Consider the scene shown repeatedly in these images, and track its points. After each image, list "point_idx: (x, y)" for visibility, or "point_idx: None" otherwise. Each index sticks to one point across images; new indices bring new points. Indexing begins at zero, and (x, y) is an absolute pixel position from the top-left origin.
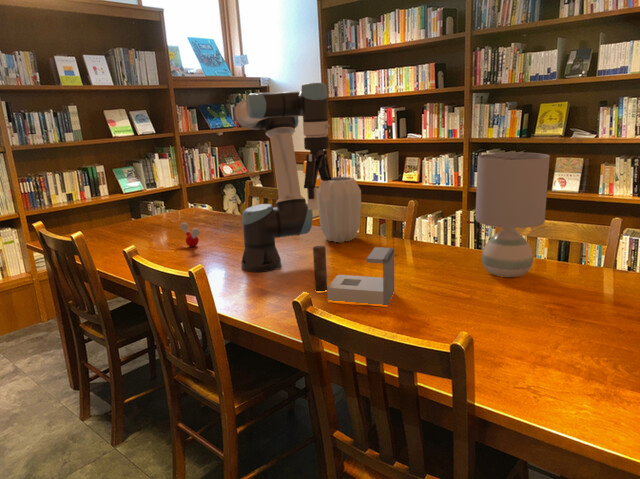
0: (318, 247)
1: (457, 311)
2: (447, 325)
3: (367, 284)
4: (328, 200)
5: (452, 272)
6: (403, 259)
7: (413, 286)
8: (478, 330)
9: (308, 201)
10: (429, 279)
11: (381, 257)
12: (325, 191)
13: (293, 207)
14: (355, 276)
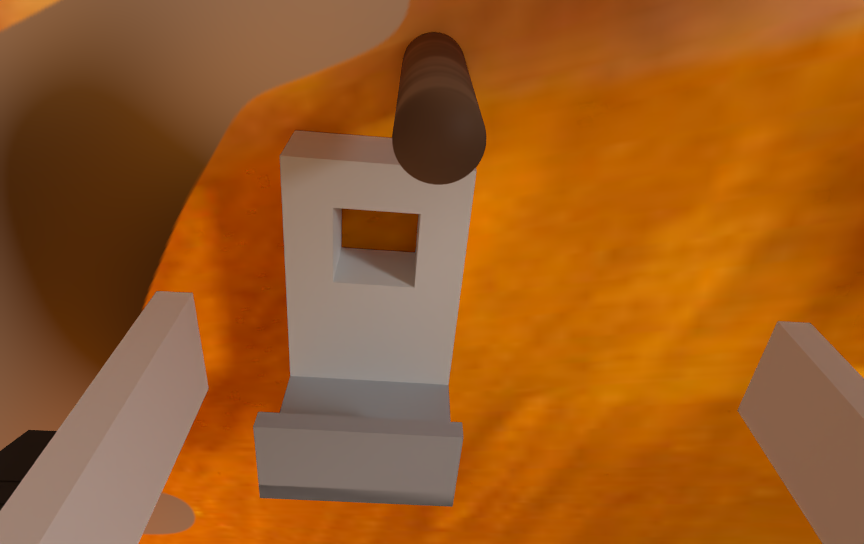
0: (436, 135)
1: (322, 504)
2: (220, 485)
3: (358, 316)
4: (741, 409)
5: (659, 496)
6: (856, 356)
7: (518, 404)
8: (214, 536)
9: (106, 375)
10: (590, 443)
11: (288, 477)
12: (828, 484)
13: None
14: (456, 256)
